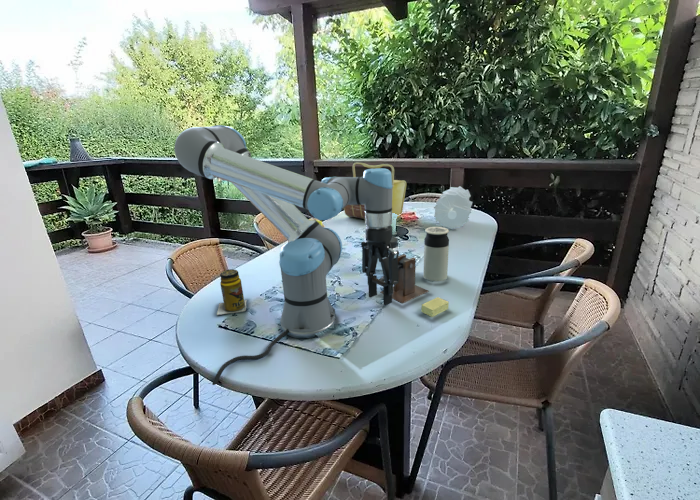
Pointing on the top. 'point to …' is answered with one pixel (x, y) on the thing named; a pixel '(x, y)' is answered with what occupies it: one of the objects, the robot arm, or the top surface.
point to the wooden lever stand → (406, 282)
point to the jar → (393, 246)
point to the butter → (434, 306)
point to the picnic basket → (397, 195)
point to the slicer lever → (381, 280)
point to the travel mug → (436, 254)
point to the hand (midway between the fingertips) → (380, 299)
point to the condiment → (231, 293)
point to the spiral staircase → (453, 208)
